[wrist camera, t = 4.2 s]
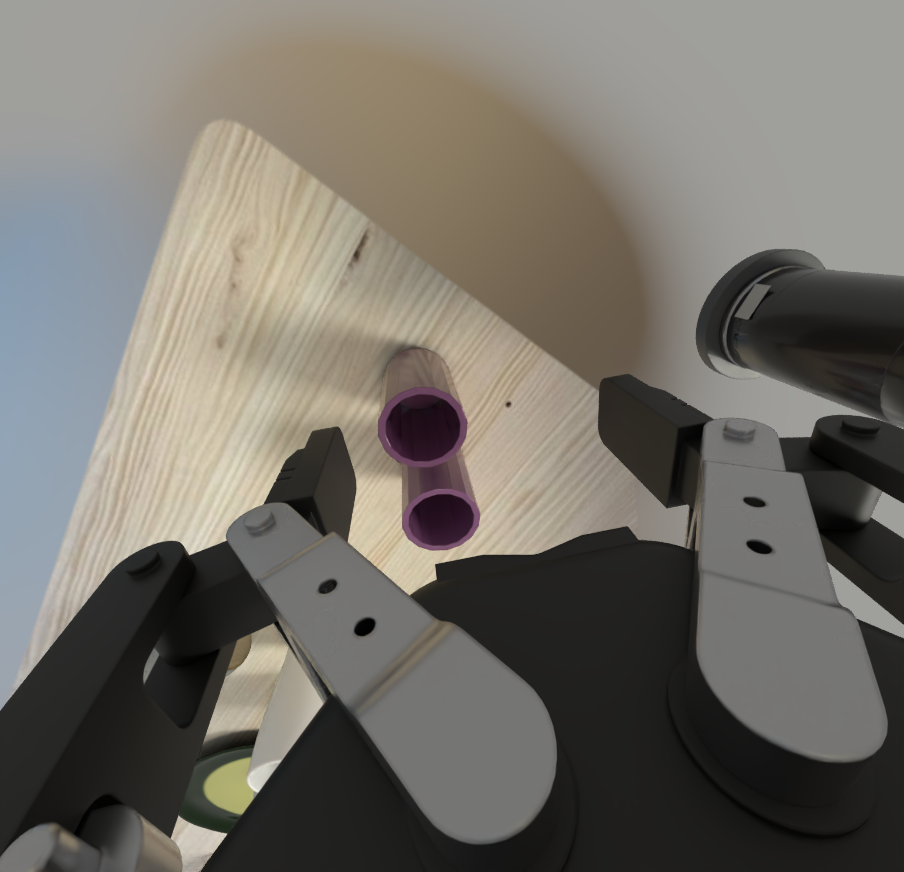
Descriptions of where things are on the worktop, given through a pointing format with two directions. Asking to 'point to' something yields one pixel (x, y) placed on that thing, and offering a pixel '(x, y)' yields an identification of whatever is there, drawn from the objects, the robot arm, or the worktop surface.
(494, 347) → the worktop surface
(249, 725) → the worktop surface
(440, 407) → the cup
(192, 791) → the plate
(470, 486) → the pair cup
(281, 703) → the drinking glass
